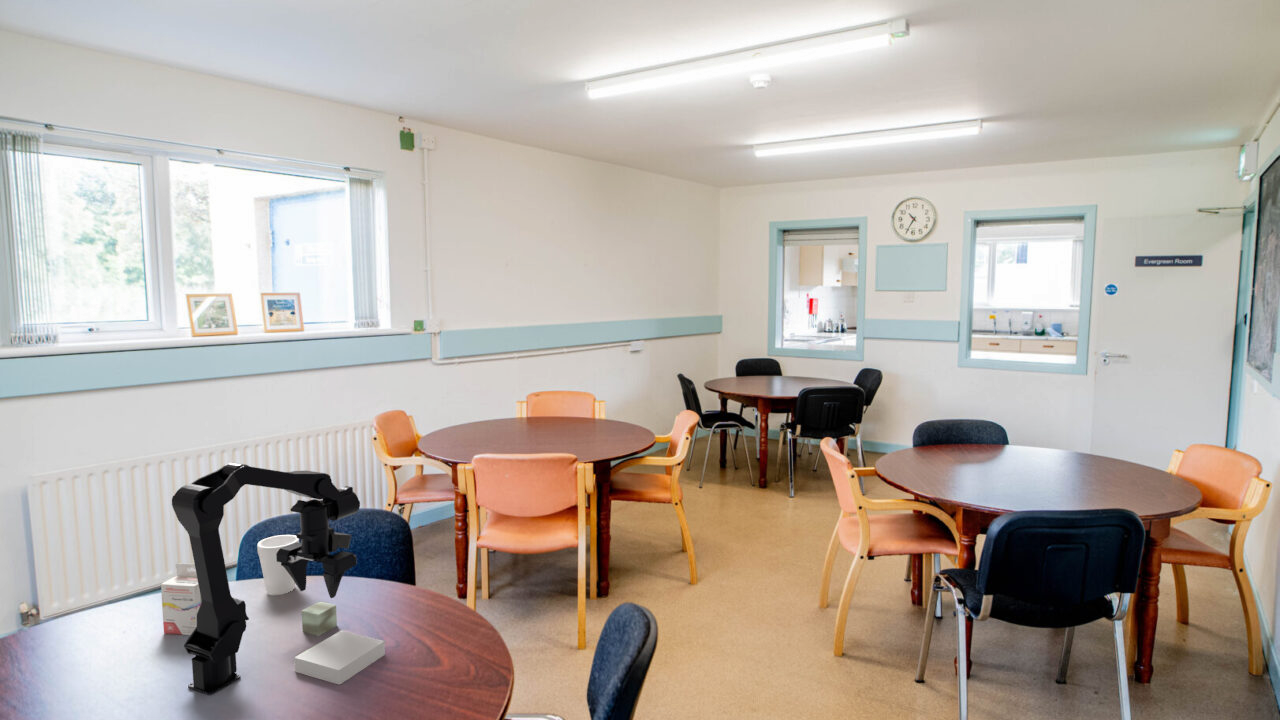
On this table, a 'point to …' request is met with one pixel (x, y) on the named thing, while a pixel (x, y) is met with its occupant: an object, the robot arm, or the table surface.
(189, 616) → the ink cartridge box
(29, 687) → the table surface
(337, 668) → the white block
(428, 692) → the table surface
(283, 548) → the robot arm
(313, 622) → the sage cube
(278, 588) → the foam cup
